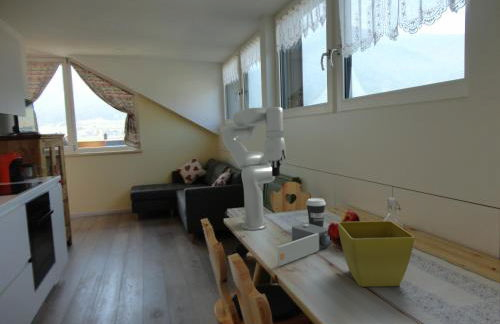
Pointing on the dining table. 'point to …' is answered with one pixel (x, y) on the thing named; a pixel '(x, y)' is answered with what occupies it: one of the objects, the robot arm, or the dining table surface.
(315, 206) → the coffee cup
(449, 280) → the dining table surface
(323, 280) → the dining table surface
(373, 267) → the flower pot
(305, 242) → the side door
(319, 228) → the camera body
